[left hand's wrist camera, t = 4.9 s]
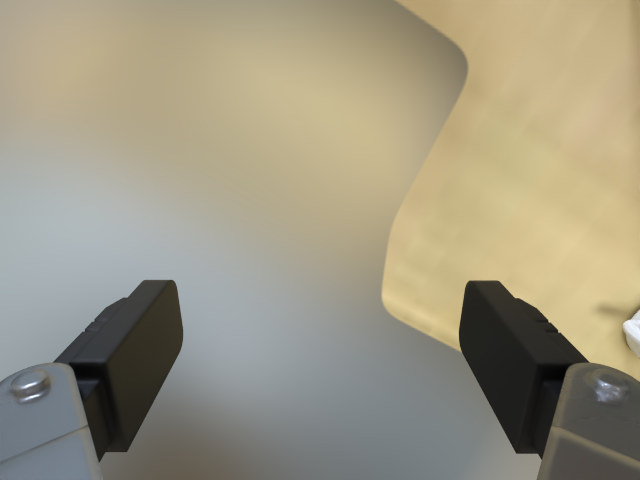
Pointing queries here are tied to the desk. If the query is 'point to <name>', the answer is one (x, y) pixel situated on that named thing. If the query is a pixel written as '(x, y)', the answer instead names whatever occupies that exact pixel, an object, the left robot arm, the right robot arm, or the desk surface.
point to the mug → (633, 333)
